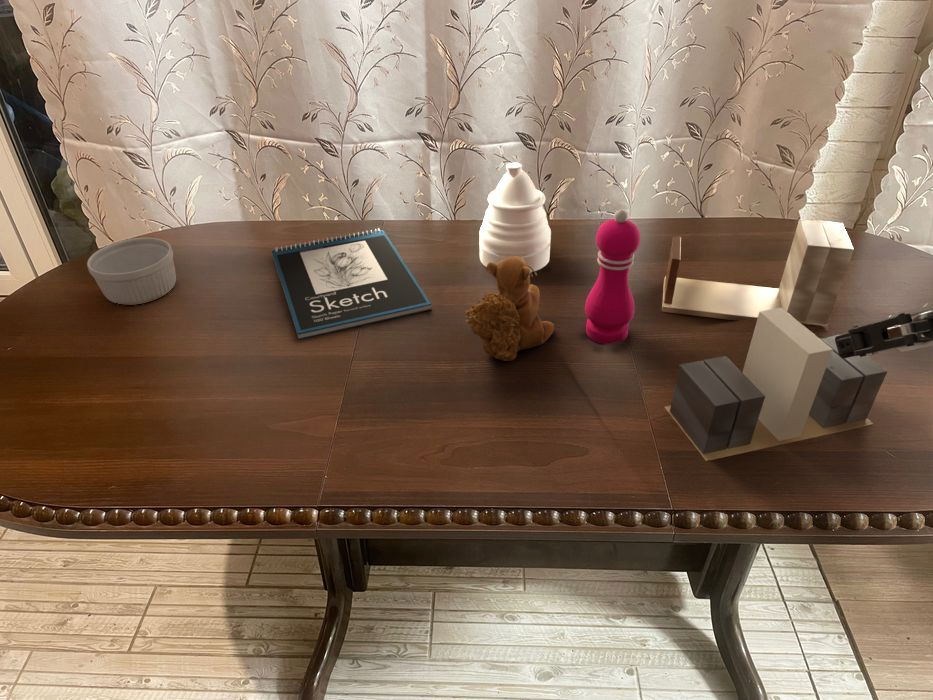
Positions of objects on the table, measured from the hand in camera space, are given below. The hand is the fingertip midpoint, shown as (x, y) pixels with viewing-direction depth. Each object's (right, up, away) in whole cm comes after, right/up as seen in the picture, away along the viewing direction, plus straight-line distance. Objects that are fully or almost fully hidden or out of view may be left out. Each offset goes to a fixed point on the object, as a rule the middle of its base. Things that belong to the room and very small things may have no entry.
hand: (877, 340), depth 63 cm
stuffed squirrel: (-34, 0, +34) cm, 48 cm away
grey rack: (-2, -10, +19) cm, 22 cm away
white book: (-2, -9, +19) cm, 21 cm away
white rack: (+4, +6, +42) cm, 42 cm away
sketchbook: (-61, +11, +51) cm, 80 cm away
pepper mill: (-19, +1, +36) cm, 41 cm away
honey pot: (-31, +16, +57) cm, 67 cm away
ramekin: (-96, +9, +50) cm, 109 cm away
